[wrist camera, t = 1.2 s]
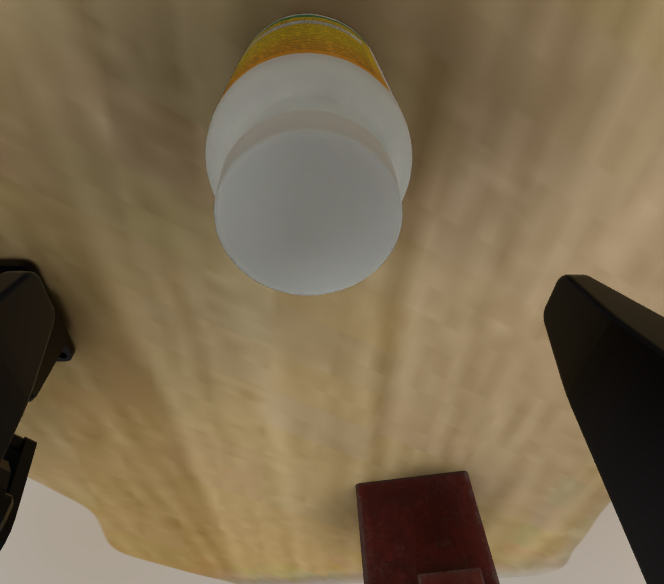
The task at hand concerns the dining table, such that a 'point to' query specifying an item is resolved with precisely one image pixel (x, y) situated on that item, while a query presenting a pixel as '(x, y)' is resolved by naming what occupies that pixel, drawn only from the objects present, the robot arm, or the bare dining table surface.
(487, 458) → the dining table surface
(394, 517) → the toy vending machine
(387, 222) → the supplement bottle
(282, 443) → the dining table surface
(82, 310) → the dining table surface
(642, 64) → the dining table surface
